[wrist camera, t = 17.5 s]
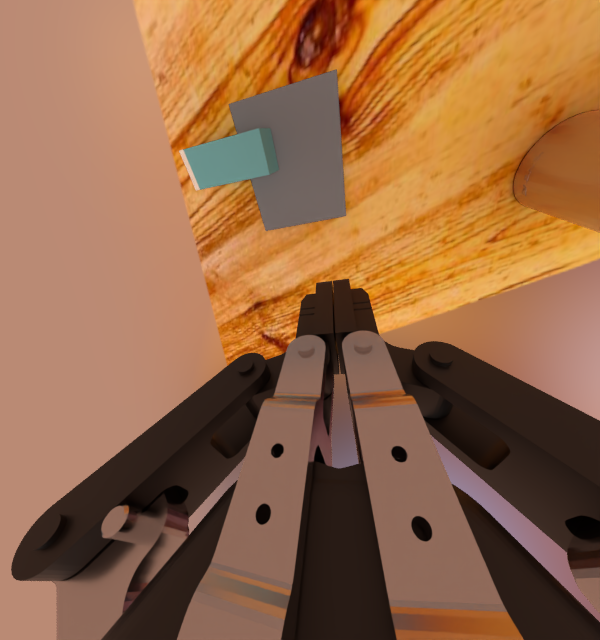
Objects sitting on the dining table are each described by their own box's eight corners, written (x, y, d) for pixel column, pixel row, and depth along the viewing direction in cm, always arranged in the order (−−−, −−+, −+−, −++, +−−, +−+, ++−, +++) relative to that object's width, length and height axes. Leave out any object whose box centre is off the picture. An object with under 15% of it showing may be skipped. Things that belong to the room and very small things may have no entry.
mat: (336, 70, 22) (336, 69, 22) (345, 214, 31) (346, 215, 30) (230, 104, 25) (228, 104, 24) (266, 229, 33) (265, 230, 33)
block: (258, 128, 22) (179, 150, 25) (269, 174, 24) (196, 190, 27) (270, 128, 25) (197, 148, 28) (279, 169, 27) (211, 184, 30)
